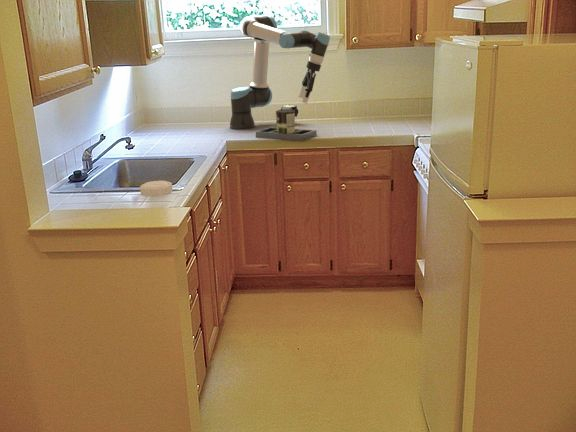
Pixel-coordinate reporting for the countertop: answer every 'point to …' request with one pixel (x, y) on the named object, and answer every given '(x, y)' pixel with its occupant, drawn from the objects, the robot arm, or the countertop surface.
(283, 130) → the coffee can
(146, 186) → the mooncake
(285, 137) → the gray compartment tray
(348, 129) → the countertop surface
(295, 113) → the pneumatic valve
